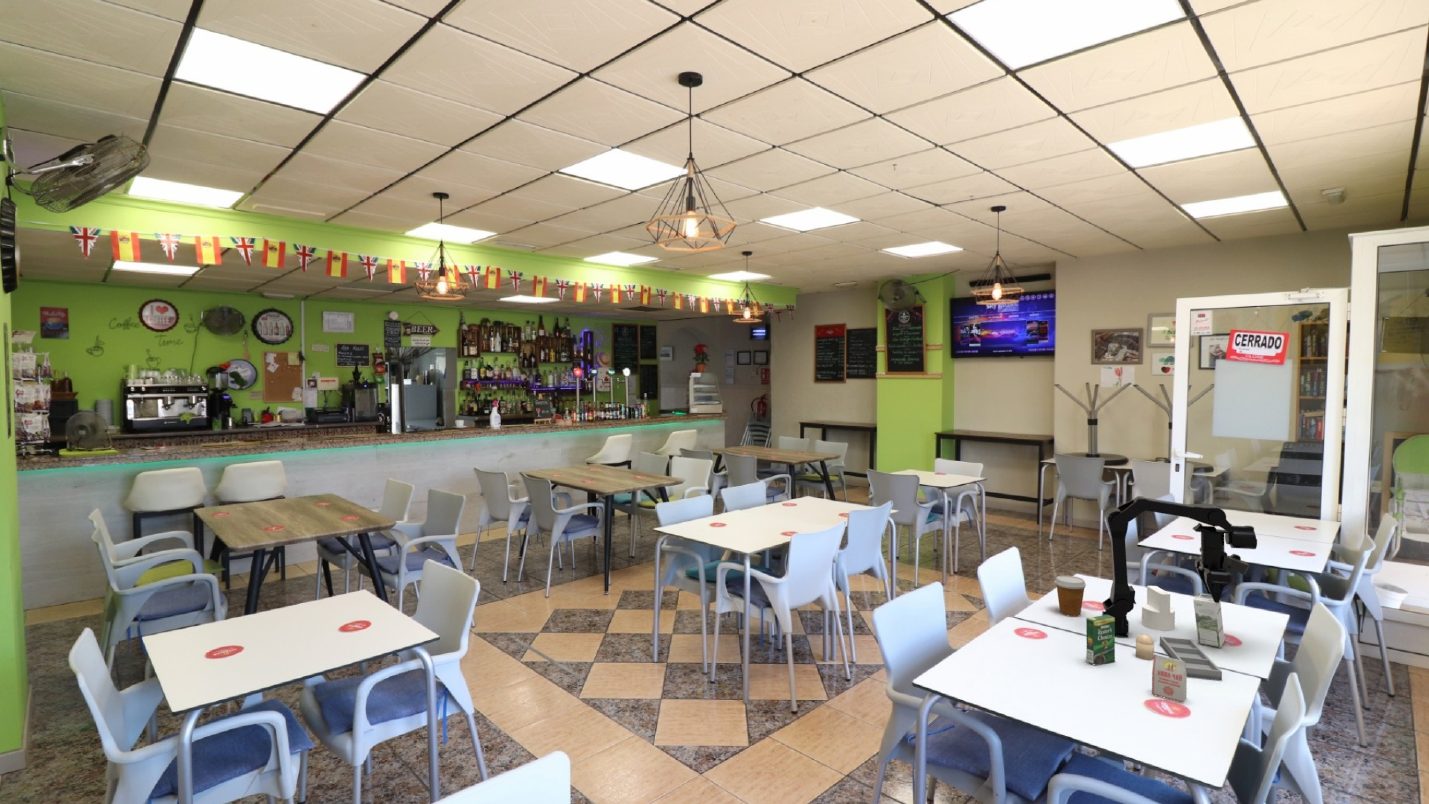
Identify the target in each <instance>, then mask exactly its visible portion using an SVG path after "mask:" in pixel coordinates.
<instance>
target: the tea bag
mask: <svg viewBox="0 0 1429 804" xmlns="http://www.w3.org/2000/svg"><path fill="white" fill-rule="evenodd" d="M1151 676H1152V677H1151V695H1152V694H1153V695H1152V696H1155V695H1156V697H1159V696H1162V697H1165V698H1164V699H1166V698H1168V699H1167V700H1170V699H1172V700H1171V701H1173V700H1175V701H1174V702H1177V701H1178V703H1181V702H1184V703H1185V701H1186V700H1187V684H1188V683H1187V682H1188V680H1187V679H1188V677H1187V673H1186V662H1185V661H1181V660H1177V659H1173V658H1170V657H1169V656H1163V655H1159V654H1155V653H1154V659H1153V660H1152V672H1151ZM1162 697H1161V698H1162ZM1185 699H1186V700H1185Z"/></svg>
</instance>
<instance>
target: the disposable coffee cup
mask: <svg viewBox="0 0 1429 804" xmlns="http://www.w3.org/2000/svg"><path fill="white" fill-rule="evenodd" d="M1054 583H1055V585H1056V591H1057V600H1058V605H1059V613H1060V612H1061V613H1062V614H1061V613H1060V614H1061V615H1063V616H1067V615H1069V616H1068V617H1079V615H1080V616H1081V614H1082V606H1083V601H1084V592H1085V588H1086V586H1087V584H1086V581H1085V580H1084V579H1083V578H1081V577H1078V576H1073V575H1059V576H1056V577H1055V580H1054Z"/></svg>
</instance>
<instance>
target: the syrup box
mask: <svg viewBox="0 0 1429 804" xmlns="http://www.w3.org/2000/svg"><path fill="white" fill-rule="evenodd" d="M1193 608H1194V617H1195V626H1196V634H1197V643H1198V644H1200V645H1205V646H1210V647H1215V648H1221V647H1222V646H1223V644H1224V642H1225V640H1226V639H1225V638H1226V637H1225V631H1224V624H1223V615H1222V602H1221V600H1220V601H1219V603H1215V602H1214V600H1213V598H1212V596H1211V594H1208V593H1202V592H1197V593H1196V594H1195V596H1194V598H1193Z"/></svg>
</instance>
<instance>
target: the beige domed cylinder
mask: <svg viewBox="0 0 1429 804" xmlns="http://www.w3.org/2000/svg"><path fill="white" fill-rule="evenodd" d="M1154 647H1155V642H1154V640H1153V638H1152V637H1151V636H1150V635H1148V634H1144V633H1142V634H1139V635H1138V636H1137V637H1136V638H1135V657H1136V658H1138V659H1141V660H1146V661H1153V660H1154V654H1155V653H1154V651H1155V648H1154Z"/></svg>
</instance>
